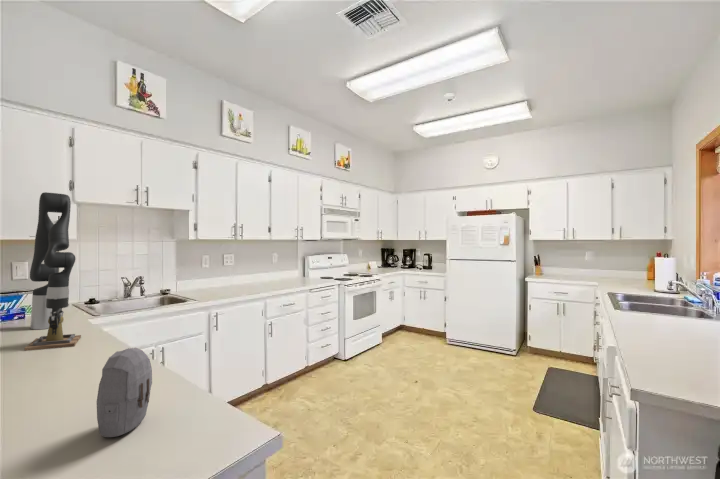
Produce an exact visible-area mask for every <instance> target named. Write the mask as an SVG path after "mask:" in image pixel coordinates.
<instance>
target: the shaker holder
mask: <svg viewBox="0 0 720 479" xmlns="http://www.w3.org/2000/svg"><path fill="white" fill-rule="evenodd" d="M46 338H47V335H42V336H39V337H37V338H35V339H34V340H33V341H31V342H30V343H28V345H26V346H25V347H24V351H25V352H27V351H36V350H51V349H59V348H60V349H61V348H72V347H75V346H76V345H77V344H78V342H79V341H80V340H81V338H82V335H81V334H79V335H78V334H75V333H70V334H63V340H60V341H47V342H46Z"/></svg>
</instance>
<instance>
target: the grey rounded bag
mask: <svg viewBox="0 0 720 479" xmlns="http://www.w3.org/2000/svg"><path fill="white" fill-rule="evenodd" d="M101 371H102V372H101V378H100V381H99V384H98V389H97V398H96V419H97V425H98V432H99V434H100V435H101V436H102V437H105V438H114V437H119V436H122V435H125V434H127V433H128V432H129V433H130V431H133V430H134V429H135V428H136V427H137V426H139V425H140V424H141V423H142V421H143V420H144V419H145V418H146V416H147V410H148V406H149V403H150V397H151V388H152V385H153V368H152V364H151V361H150V357H148V355H147V353H146V352H145V351H144V350H143V349H140V348H137V347H128V348H125V349H123V350H117V351H115V352H114V353H113V354H112V355H111V356H109V357H108V359H107V361H106V362H105V364H104V366H103V368H102V370H101Z"/></svg>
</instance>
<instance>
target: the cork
mask: <svg viewBox="0 0 720 479" xmlns="http://www.w3.org/2000/svg"><path fill="white" fill-rule="evenodd" d="M58 320H59V319H58ZM48 323H49V324H50V321H49V319H48ZM63 323H64V316H63V317H62V316H61V319H60V322H59V328H57V332H56V335H55V333H53V335H52V328H50V325H49V328H47V329H48V331H47V335H46V336H47V338H46V342H47V341H60V340H63V335H64V334H63V333H64V332H63ZM53 325H56V324H53ZM54 331H55V330H54Z"/></svg>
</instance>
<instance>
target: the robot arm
mask: <svg viewBox="0 0 720 479" xmlns="http://www.w3.org/2000/svg"><path fill="white" fill-rule="evenodd" d="M38 200H39V201H38V216H37V217H38V219H37V220H38V221H37V227H36V232H35V237H34V238H35V239H34V248H33V258H32V260H31V266H30V270H29V278H30V280H31V281H32V282H37V283H38V282H47V284H45V285H43V286H40V287H37V288H34V289H33V290H32V298H31V310H30V312H31V313H30V330H45V329H49V325H50V328H52V335H53V333H55V335H56V332H57V328H59V322H60V319H61V316H62V317H63V318H64V310H63V309H64V308H67V307H69V295H70V287H69V286H70V275H71V272H72V270H73V267H74V266H75V263H76V255H75V254H74V253H73V252H69V251H68V252H67V251H66V250H68V248H69V247H70V239H69V235H70V234H69V228H70V219H71V204H72V203H71V197H70V196H69V195H68V194H66V193H56V192H45V191H44V192H42V193H41V194H40V196H39V199H38ZM49 213H57V214H58V213H59V214H61V215H60V217H59V218H58V220H57V221H56V222H55V223H53V221H52V219H51V218H50V217H49ZM62 251H63V252H62ZM59 268H60V269H61V268H62V269H63V270H61V271H59ZM48 319H49V321H50V324H49V323H48ZM58 319H59V320H58ZM53 324H56V325H53ZM54 330H55V331H54Z"/></svg>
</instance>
